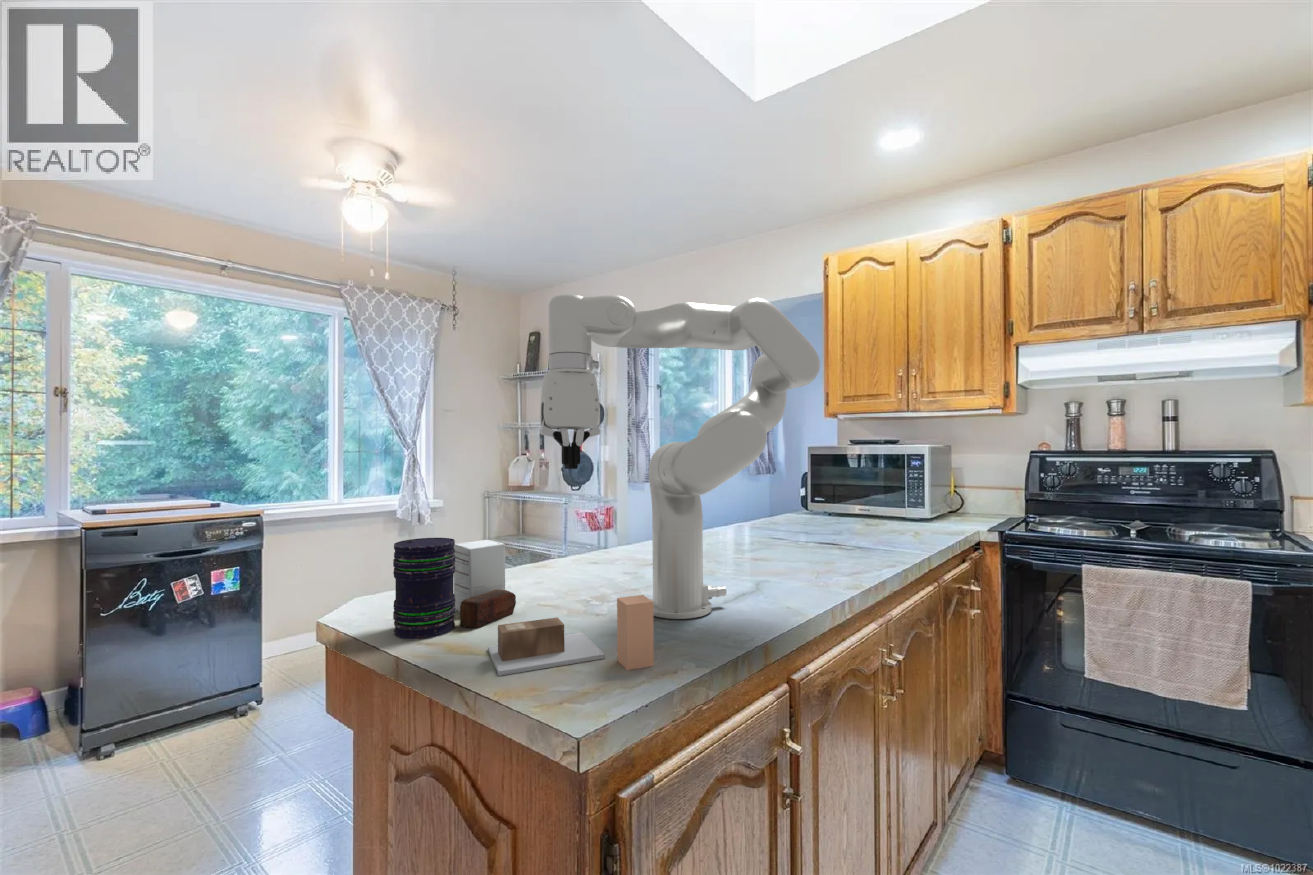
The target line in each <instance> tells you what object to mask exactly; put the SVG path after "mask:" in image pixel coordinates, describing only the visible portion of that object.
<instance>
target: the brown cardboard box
mask: <svg viewBox="0 0 1313 875" xmlns="http://www.w3.org/2000/svg"><path fill="white" fill-rule="evenodd" d="M564 635H565V624H564V622H562V621H561V619H560V618H559V617H558V616H557V617H549V618H542V619H535V620H527V621H519V622H510V623H505V624H498V625H497V644H498V653H499V656H500V658H501V660H502V661H508V660H515V659H521V658H527V657H534V656H540V655H547V654H553V653H560V652H564Z"/></svg>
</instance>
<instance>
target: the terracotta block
mask: <svg viewBox="0 0 1313 875" xmlns="http://www.w3.org/2000/svg"><path fill="white" fill-rule="evenodd" d="M616 618H617V619H616V625H617V626H616V629H617V630H616V632H617V633H616V638H617V639H616V642H617V645H616V646H617V650H616V651H617V655H616V656H617V657H616V658H617V661H618V662H619V664H620V665H622V666H623V667H624V669H625V670H626V671H630V670H631V671H632V670H637V669H642V668H647V667H648V668H649V667H654V666H655V664H654V663H655V660H654V659H655V658H654V655H655V652H654V651H655V650H654V648H655V647H654V646H655V645H654V644H655V640H654V639H655V638H654V637H655V634H654V627H655V626H654V625H655V624H654V616H653V601H652V600H650V598H648V597H647V596H645V595H643V594H639V595H630V596H623V597H617V598H616Z"/></svg>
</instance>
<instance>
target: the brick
mask: <svg viewBox="0 0 1313 875" xmlns="http://www.w3.org/2000/svg"><path fill="white" fill-rule="evenodd" d="M516 598H517V596H516V594H515V593H514V592H511V591H509V590H507V589H505V590H493V591H490V592H487V593H484V594H481V595H478V596H474V597H470V598H467V599H465V600H463V601H462V602H461V606H460V611H459V614H460V615H459V616H460V617H459V618H460V620H459V621H460V622H459V623H460V624H459V625H460V627H462V628H467V627H468V629H475V630H476V629H477V630H478V629H480V628H482V627H485V626H487V625H490V624H493V623H494V622H497V621H499V620H503V619H505V618H507V617H509V616H511V615H513V614H514V611H515V607H516V603H517V600H516Z"/></svg>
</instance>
